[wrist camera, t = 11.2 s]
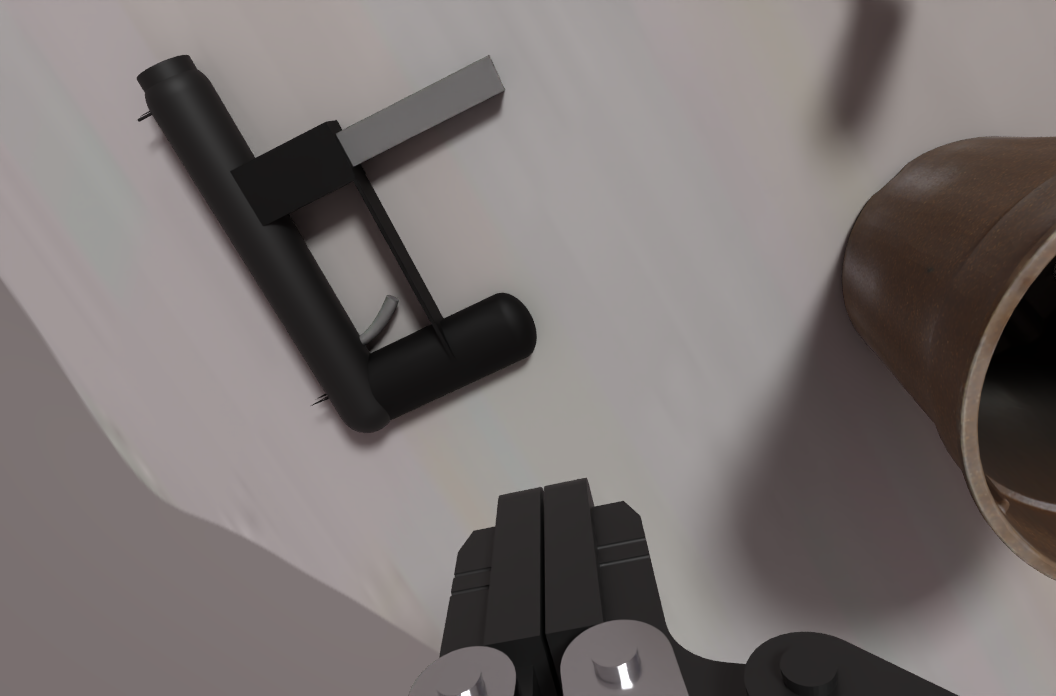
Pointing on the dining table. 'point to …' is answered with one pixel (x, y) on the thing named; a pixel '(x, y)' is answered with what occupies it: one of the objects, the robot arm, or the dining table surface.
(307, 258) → the door handle
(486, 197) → the dining table surface
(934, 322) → the plant pot
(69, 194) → the dining table surface
